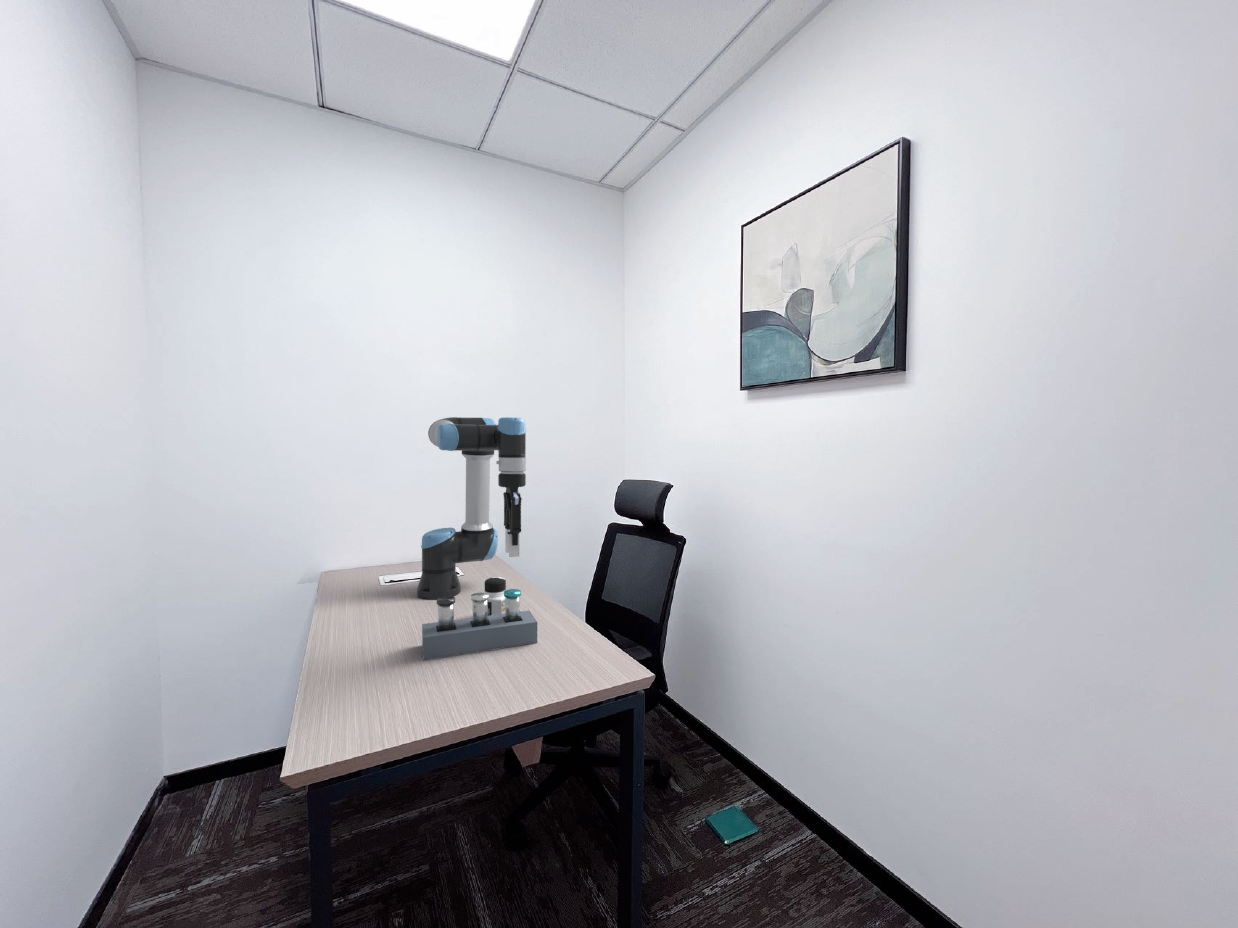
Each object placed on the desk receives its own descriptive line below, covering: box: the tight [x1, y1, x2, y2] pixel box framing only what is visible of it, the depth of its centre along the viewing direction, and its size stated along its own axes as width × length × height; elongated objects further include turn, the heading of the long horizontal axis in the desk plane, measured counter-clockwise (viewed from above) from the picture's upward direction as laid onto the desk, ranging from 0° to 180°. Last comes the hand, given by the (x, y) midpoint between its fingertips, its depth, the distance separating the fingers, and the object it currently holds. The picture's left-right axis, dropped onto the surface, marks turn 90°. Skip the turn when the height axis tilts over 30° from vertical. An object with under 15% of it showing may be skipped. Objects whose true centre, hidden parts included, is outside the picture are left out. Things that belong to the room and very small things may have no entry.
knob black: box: [436, 596, 456, 632], centre depth 137 cm, size 5×5×8 cm
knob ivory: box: [470, 592, 489, 627], centre depth 141 cm, size 5×5×8 cm
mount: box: [421, 610, 538, 661], centre depth 141 cm, size 10×30×6 cm, turn 113°
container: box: [484, 576, 507, 616], centre depth 160 cm, size 8×8×13 cm
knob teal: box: [504, 588, 522, 623], centre depth 144 cm, size 5×5×8 cm
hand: (512, 554), depth 144 cm, fingers open, 5 cm apart
